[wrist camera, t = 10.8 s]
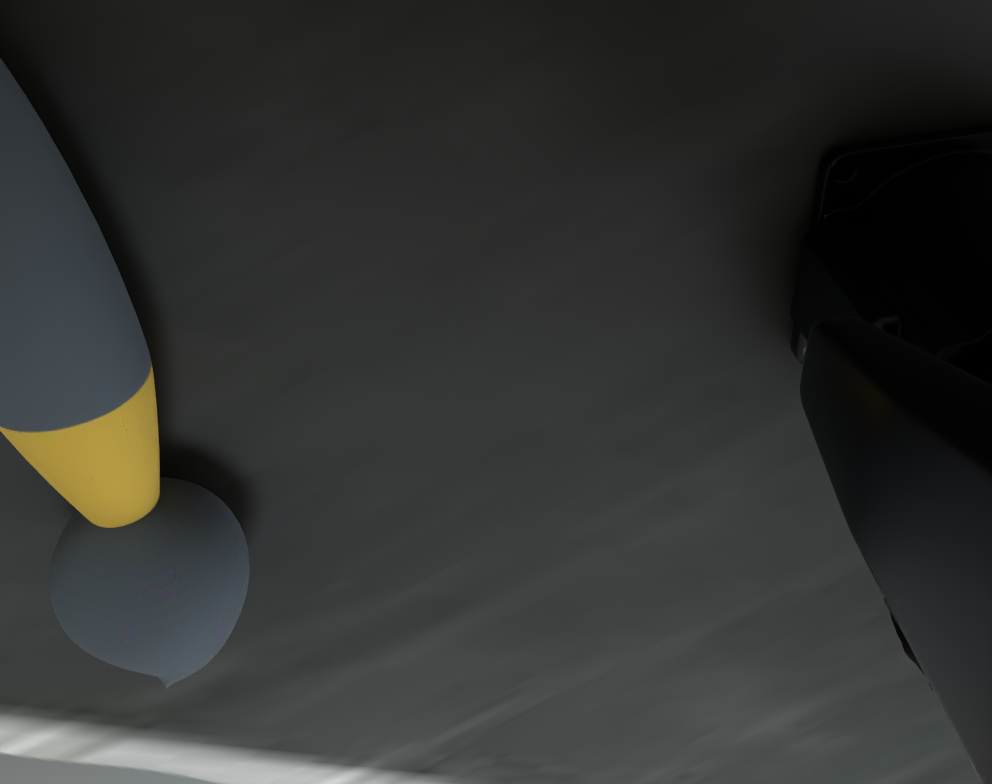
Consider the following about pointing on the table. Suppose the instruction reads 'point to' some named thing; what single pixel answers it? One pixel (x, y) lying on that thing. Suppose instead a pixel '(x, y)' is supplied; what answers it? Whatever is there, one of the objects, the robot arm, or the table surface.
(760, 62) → the table surface
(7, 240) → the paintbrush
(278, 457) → the table surface
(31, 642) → the table surface
